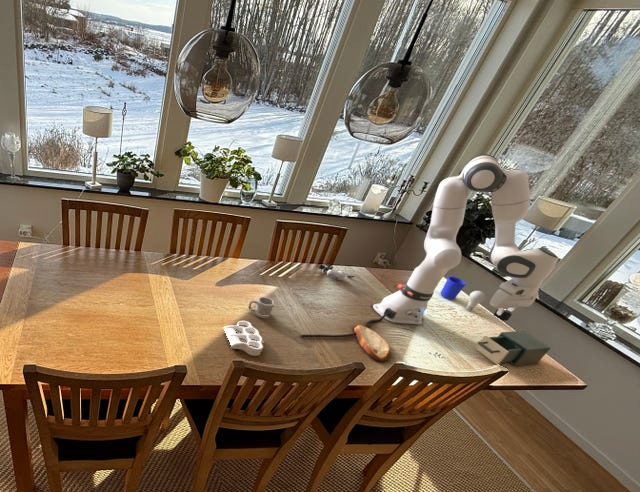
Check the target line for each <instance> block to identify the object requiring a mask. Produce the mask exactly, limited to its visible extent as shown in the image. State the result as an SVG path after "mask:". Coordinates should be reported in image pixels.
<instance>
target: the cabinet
mask: <svg viewBox="0 0 640 492" xmlns="http://www.w3.org/2000/svg"><path fill="white" fill-rule="evenodd" d="M498 336H505V337H506V338H507V339H509V340H510V341H512V342H513V343H515V344H516V345H518V346H519V347H521V348H522V349H524V351H523V352H522V354H521V355H520V356H519V357H518V358H517V360H516V361H511V362H509V363H510V364H511V365H512V366H525V365H535V364H538V363H540V361H541V360H542V358H544V356H545V355H546V354H547V353H548V352H549V351H550V350H551V347H550V346H549V345H548V344H546V343H544V341H543V342H542V340H540V339H538V338H537V337H535V336H533V335H532V334H530V333H529V332H527V331H525V330H514V331H513V330H511V331H501V332H500V333H499V335H498Z"/></svg>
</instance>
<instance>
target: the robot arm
mask: <svg viewBox="0 0 640 492" xmlns="http://www.w3.org/2000/svg"><path fill="white" fill-rule="evenodd" d="M471 192H476V193H490V196H491V197H490V199H491V212H492V218H493V221H494V242H493V245H492V247H491V249H490V250H489V254H488V259H489V261H490V262H491V263H492V265H493V266H494V268H495V269H496V271H497V272H498V273H499V274H500V275H502V276H504V277H510V278H511V279H508V280H507V281H503V282H501V283H500V284H499V286H498V287H499V289H497V290H496V292H494V294H493V296H492V297H491V298H490V301H489V305H490V306H491V307H493V308H495V309H498V311H497V310H496V311H497V313H496V314H498V315H503V314H504V313H505V312H504V310H505V309H506V311H507V310H508V311H510V312H511V314H512V313H513V312H514V311H516V310H517V309H518V308H527V307H530V306H532V304H533V303H534V302H535V301H536V299H537V297H538V296H539V291H540V287H541V286H542V284H543V282H544V280H545V279H547V278H548V277H549V275H550V274H551V273H552V271H553V270H554V269H555V267H556V266H557V263H558V261H559V258H558V256H557V255H556V254H555V253H554V252H552V251H550V250H549V249H546V248H543V247H537V248H536V249H530V250H520V249H519V247H518V245H517V244H516V225H517V223H518V222H520V221H521V220H523V219H524V218H526V217H527V216H528V213H529V210H530V205H531V190H530V183H529V178H528V175H527V173H526V172H525V171H523V170H520V169H510V170H504V169H502V167H501V165H500V163H499V161H498V159H497V158H496V157H495V156H493V155H491V154H483V153H482V154H478V155H476V156H474V157H472V158H470V159H469V160H468V161H467V162H466V164H465V165H464V166H463V167H462V169H461V170H460V171H459V172H458V175H456V176H449V177H446V178H444V179H443V180H442V181H440V183H439V184H438V186H437V190H436V192H435V197H434V200H433V205H432V212H431V218H430V223H429V227H428V228H427V229H428V230H427V232H426V236H425V238H424V241H423V249H424V251H425V253H426V255H425V257H424V259H423V261H422V262H421V263H420V264H419V265H418V266H416V267H415V268H414V270H413V271H412V273H411V275H410V277H409V278H408V280H407V281H406V282H405V283H404V284H401V283H399V284H398V285H397V288H398V289H399V290H397V291H395V292H393V293H392V294H389V295H387V296H385V297H384V298H383V299H382V300H381V302H378V303H375V304H374V303H373V305H372V308H373V309H374V311H375V312H376V313H377V314H378V315H379V316H381V317H380V318H378V319H370V320H367V322H366V323H365V324H364V325H363V326H364V327H367V328H368V325H369V324H371V323H377V322H378V323H379V322H381V321H383V320H384V319H385V320H387V321H389V322H391V323H392V324H393V323H395V324H407V325H418V326H419V325H422V323H423V321H422V319H423V317H424V315H426V314H427V309H428V303H429V301H431V299H432V298H433V296H434V291H435V290H436V288H437V287H438V285H439V283H440V282H441V280H442V279H443V278H444V276H445V275H446V274H447V273H448V272H449V271H450V270H452V269H455V268H456V267H457V266H459V264H460V263H461V261H462V250H461V248H460V247H459V245H458V243H457V235H458V233H459V230H460V228H461V227H462V226H463V223H464V218H465V214H466V209H467V203H468V198H469V195H470V194H471ZM508 311H507V312H508ZM510 312H509V313H510ZM352 336H356V332H355V331H354V332H352V333H347V334H301V335H300V337H301V338H347V337H352Z"/></svg>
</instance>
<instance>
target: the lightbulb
mask: <svg viewBox="0 0 640 492" xmlns="http://www.w3.org/2000/svg"><path fill="white" fill-rule="evenodd" d="M468 297H469V299H468V302H467V306H466V307H465V309H466V311H473V309H474V308H476V306H477V305H479V304H481V303H483V302H484V301H485V299H486V295H485V293H484V292H483V291H480V290H474V291H472V292H470V294H469V296H468Z"/></svg>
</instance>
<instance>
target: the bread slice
mask: <svg viewBox="0 0 640 492" xmlns="http://www.w3.org/2000/svg"><path fill="white" fill-rule="evenodd" d="M364 326H365V325H361V324H357V326H356V327H354V333H355V332H356V335H355V337H356V338H357V341H358V343H359V344H360V346H361V348H362V349H363V350H364V351H365V353H366V354H367V355H368V356H369V357H370V358H372V359H374V360H375V361H377V362H386V361H387V360H388V359H389V358H390V356H391V348H390V344H389V343H388V342H387V341H386V339H384V338H383V337H381V336H380V334H378V333H377V332H376V331H374V330H373V329H371V328H369V327H368V326H367V327H364Z"/></svg>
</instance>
